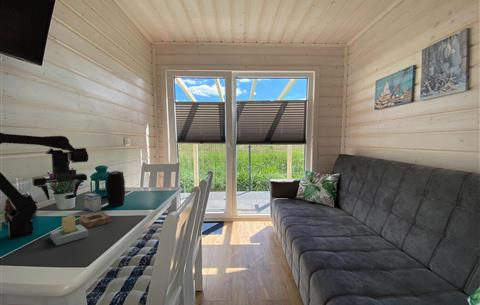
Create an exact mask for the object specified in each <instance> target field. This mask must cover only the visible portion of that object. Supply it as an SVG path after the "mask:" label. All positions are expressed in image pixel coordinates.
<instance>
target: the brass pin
mask: <svg viewBox="0 0 480 305" xmlns="http://www.w3.org/2000/svg"><path fill="white" fill-rule="evenodd" d="M76 225H77V224H76V217H75V216H74V215H68V216H63V217H61V227H62V228H61V229H62V233H63V235H65V234H69V233H73V232H76Z"/></svg>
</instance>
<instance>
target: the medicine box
mask: <svg viewBox="0 0 480 305" xmlns="http://www.w3.org/2000/svg"><path fill="white" fill-rule="evenodd" d="M84 210H85V211H88V212H92V213H95V212H98V211H101V210H102V195H101V194H99V193H93V192H91V193H85V194H84Z"/></svg>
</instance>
